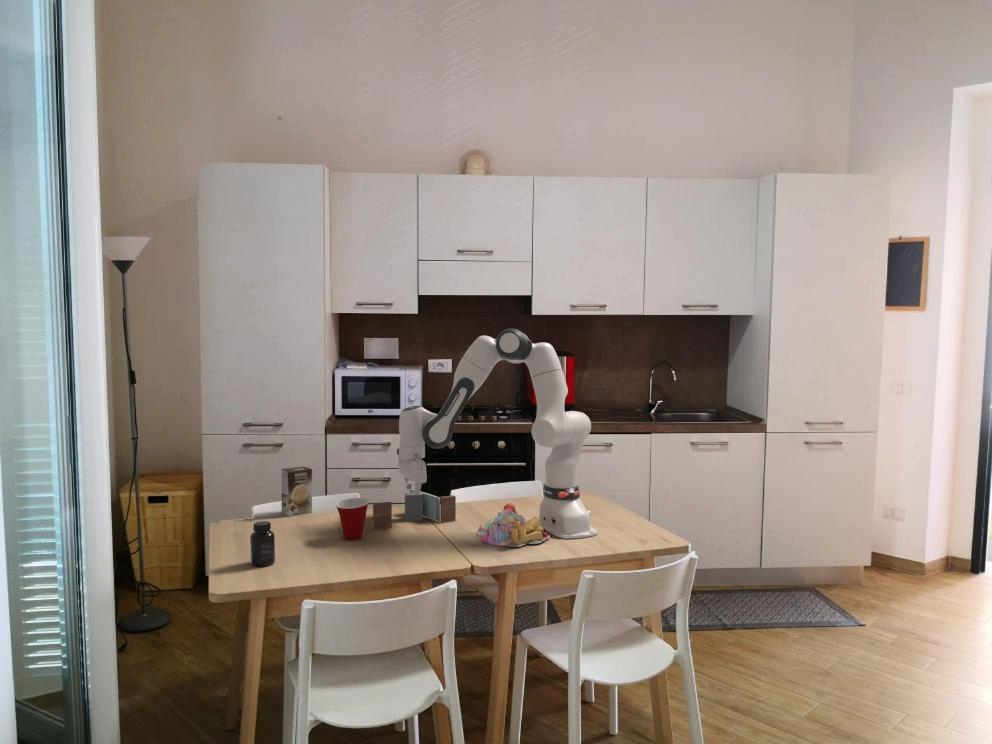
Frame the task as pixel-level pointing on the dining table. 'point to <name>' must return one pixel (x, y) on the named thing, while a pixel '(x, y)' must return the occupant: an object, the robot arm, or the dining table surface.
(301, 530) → the dining table surface
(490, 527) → the candy landscape model
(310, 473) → the coffee box
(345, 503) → the plastic cup
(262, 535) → the supplement bottle
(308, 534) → the dining table surface
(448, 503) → the wooden blocks
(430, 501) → the door
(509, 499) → the dining table surface
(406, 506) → the block
